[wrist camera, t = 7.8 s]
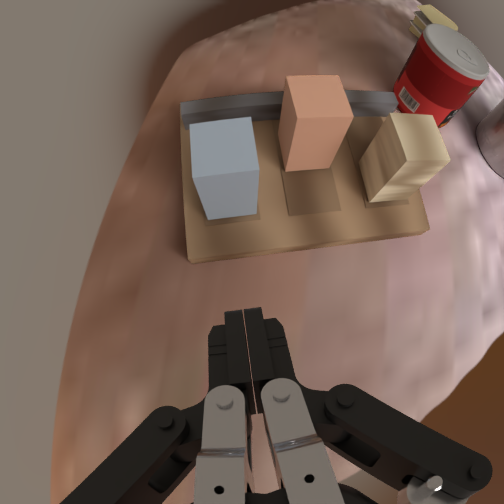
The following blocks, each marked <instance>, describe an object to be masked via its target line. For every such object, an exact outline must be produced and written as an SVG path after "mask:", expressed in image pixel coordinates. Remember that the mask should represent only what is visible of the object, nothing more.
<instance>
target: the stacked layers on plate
mask: <svg viewBox="0 0 504 504" xmlns="http://www.w3.org/2000/svg"><path fill="white" fill-rule="evenodd" d="M417 7H418V8H419V9H420V10H421V11H415V12H414V14H415V15H416V16H415V18H414V20H411V21H410V23H411V27H410V29H409V30H410V31H411V32H412V33H413V34H414V35H416V36H417V37H418V38H419V37H420V36H421V34H422V32H423V30H424V29H425V28H426V26H427V25H428V24H434V23H436V24H441V25H444V26H447V27H449V28H451V29H453V30H455V31H457V30H458V27H457V25H456V24H455V23H454V22H452V21H451V20H450V19H449V18H447V17H446V16H445V15H444V14H442V13H441V12H439V11H438V10H437V9H435V8H434V7H433V6H431V5H421V6H417Z"/></svg>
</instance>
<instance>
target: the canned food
mask: <svg viewBox="0 0 504 504" xmlns="http://www.w3.org/2000/svg"><path fill="white" fill-rule="evenodd" d="M488 74H489V65H488V63H487V61H486V59H485V57H484V56H483V54H482V53H481V52H480V51H479V49H478V48H477V47H476V46H475V45H474V44H473V43H472V42H471V41H470V40H468V39H467V38H466V37H464V36H463V35H461V34H460V33H459V32H457V31H455V30H453V29H451V28H449V27H447V26H444V25H441V24H436V23H434V24H428V25H427V26H426V28H425V29H424V30H423V32H422V34H421V36H420V37H419V39H418V41H417V43H416V45H415V47H414V49H413V51H412V53H411V55H410V56H409V58H408V60H407V62H406V64H405V66H404V68H403V70H402V71H401V73H400V75H399V77H398V79H397V81H396V83H395V85H394V90H393V92H394V94H395V96H396V98H397V101H398V103H399V104H398V106H397V107H398V108H399V110H400V111H401V112H402V113H407V114H423V115H433V118H434V120H435V122H436V125H437V127H438V128H441V127H443V126H445V125H446V124H447V123H448V122H449V121H450V120H451V118H452V117H453V116H454V115H455V114H456V113H457V112H458V110H459V109H460V108H461V107H462V106H463V105H464V104H465V102H466V101H467V100H468V99H469V98H470V97H471V96H472V94H473V93H474V92H475V91H476V90H477V89H478V87H479V86H480V85H481V84H482V82H483V81H484V80H485V79H486V77H487V75H488Z"/></svg>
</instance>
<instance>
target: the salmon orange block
mask: <svg viewBox="0 0 504 504" xmlns="http://www.w3.org/2000/svg"><path fill="white" fill-rule="evenodd" d="M353 117H354V116H353V113H352V110H351V107H350V104H349V102H348V99H347V96H346V93H345V91H344V88H343V86H342V83H341V80H340V78H339V75H303V76H286V81H285V88H284V95H283V102H282V109H281V116H280V122H279V129H278V138H279V142H280V147H281V152H282V158H283V163H284V168H285V172H289V171H300V170H312V169H326V168H329V167H330V165H331V163H332V161H333V159H334V157H335V155H336V153H337V151H338V149H339V147H340V145H341V143H342V141H343V138H344V136H345V134H346V132H347V130H348V128H349V126H350V124H351V122H352V120H353Z"/></svg>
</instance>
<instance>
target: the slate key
mask: <svg viewBox="0 0 504 504" xmlns="http://www.w3.org/2000/svg"><path fill="white" fill-rule="evenodd" d="M189 125H190V145H191V163H192V178H193V181H194V184H195V186H196V189H197V192H198V194H199V197H200V200H201V202H202V205H203V208H204V210H205V213H206V216H207V218H208V220H213V219H220V218H228V217H236V216H244V215H253V214H257V199H258V185H259V163H258V157H257V151H256V145H255V139H254V133H253V127H252V120H251V117H244V118H234V119H226V120H218V121H210V122H203V123H196V124H189Z"/></svg>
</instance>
